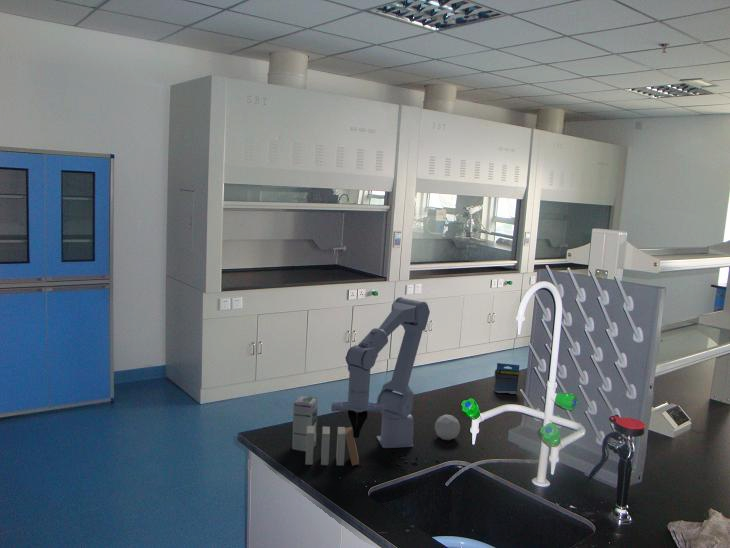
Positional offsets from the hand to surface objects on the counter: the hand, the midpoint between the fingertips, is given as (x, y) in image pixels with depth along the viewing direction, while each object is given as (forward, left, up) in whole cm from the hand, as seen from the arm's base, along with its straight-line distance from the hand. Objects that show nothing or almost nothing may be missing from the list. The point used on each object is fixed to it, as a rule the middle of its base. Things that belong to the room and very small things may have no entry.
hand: (356, 436), depth 163 cm
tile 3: (+8, -2, -8) cm, 11 cm away
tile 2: (+4, -1, -8) cm, 9 cm away
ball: (-32, -12, -8) cm, 35 cm away
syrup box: (+13, -11, -8) cm, 19 cm away
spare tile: (0, 0, -7) cm, 7 cm away
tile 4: (+12, -2, -8) cm, 15 cm away
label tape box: (-72, -51, -8) cm, 89 cm away
